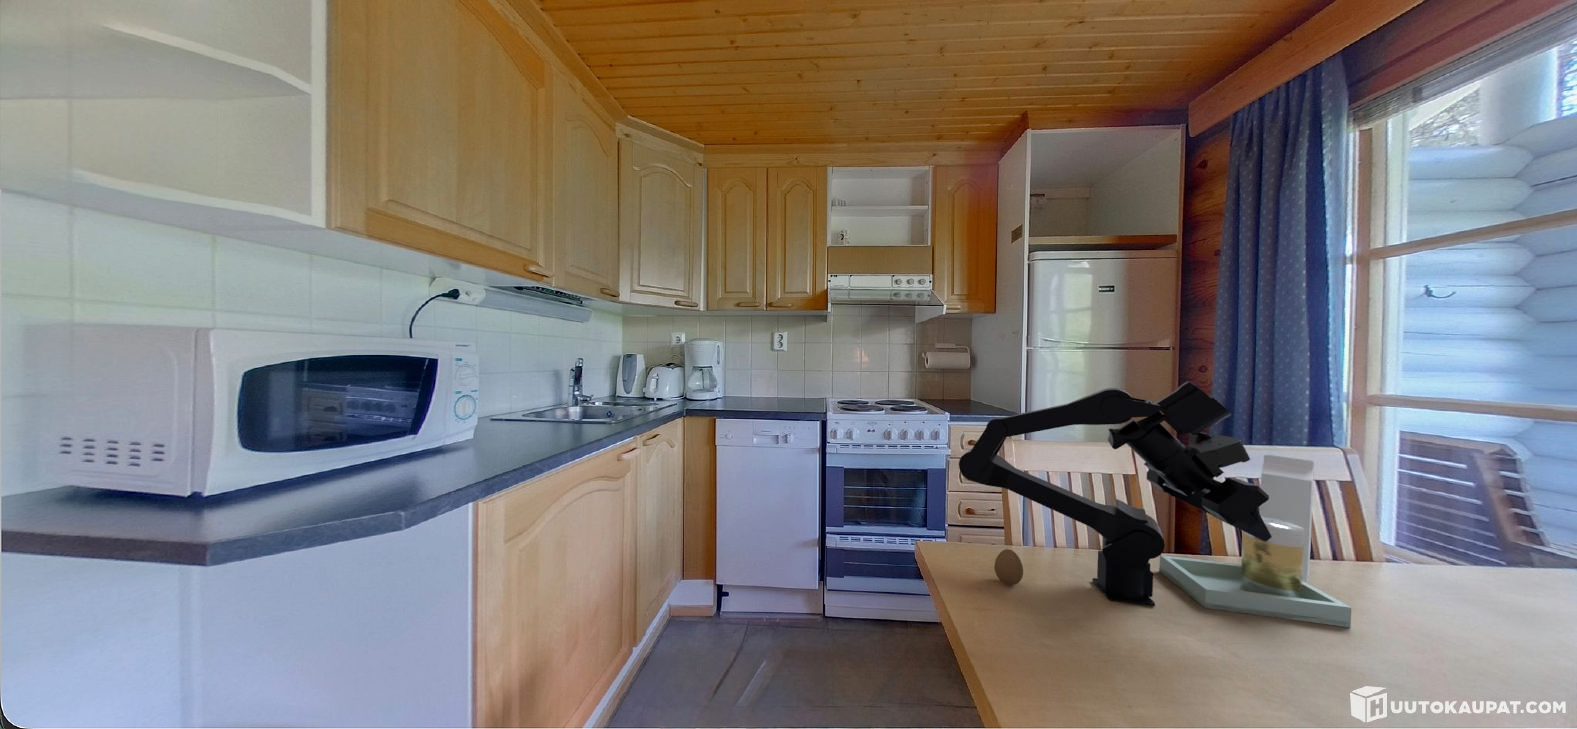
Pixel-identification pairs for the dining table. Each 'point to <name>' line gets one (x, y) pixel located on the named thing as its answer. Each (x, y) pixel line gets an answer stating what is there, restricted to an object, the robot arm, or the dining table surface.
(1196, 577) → the pale green tray
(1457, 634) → the dining table surface
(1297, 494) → the milk
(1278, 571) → the tin can
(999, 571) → the egg
